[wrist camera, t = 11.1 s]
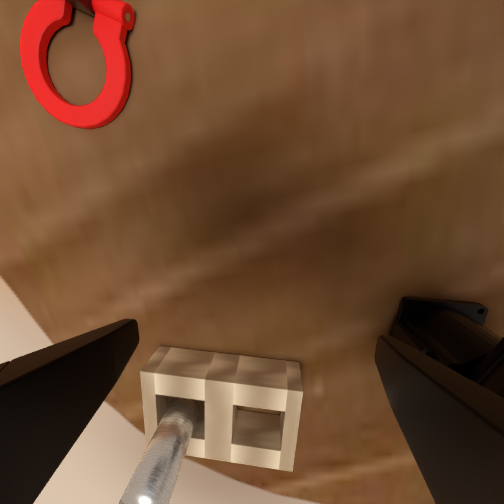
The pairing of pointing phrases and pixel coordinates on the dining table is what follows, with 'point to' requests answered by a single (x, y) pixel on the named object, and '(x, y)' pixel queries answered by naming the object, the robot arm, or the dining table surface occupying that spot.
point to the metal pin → (164, 454)
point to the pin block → (228, 403)
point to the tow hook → (111, 40)
